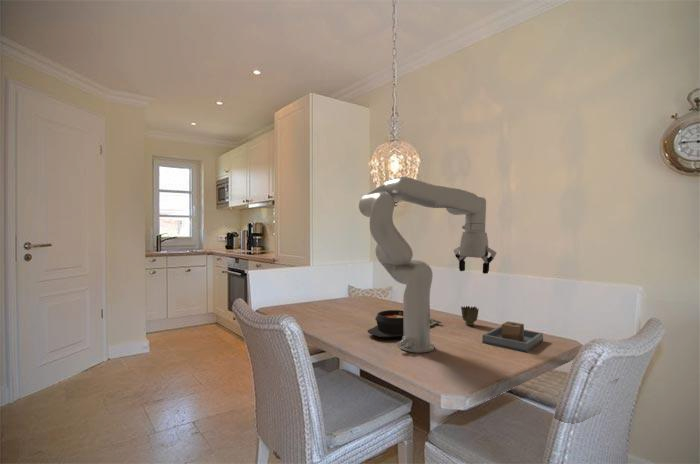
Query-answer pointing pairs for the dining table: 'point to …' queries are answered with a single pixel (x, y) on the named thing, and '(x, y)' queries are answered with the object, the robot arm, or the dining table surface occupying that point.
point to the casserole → (388, 324)
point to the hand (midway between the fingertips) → (473, 272)
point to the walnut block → (513, 331)
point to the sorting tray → (526, 345)
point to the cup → (469, 315)
